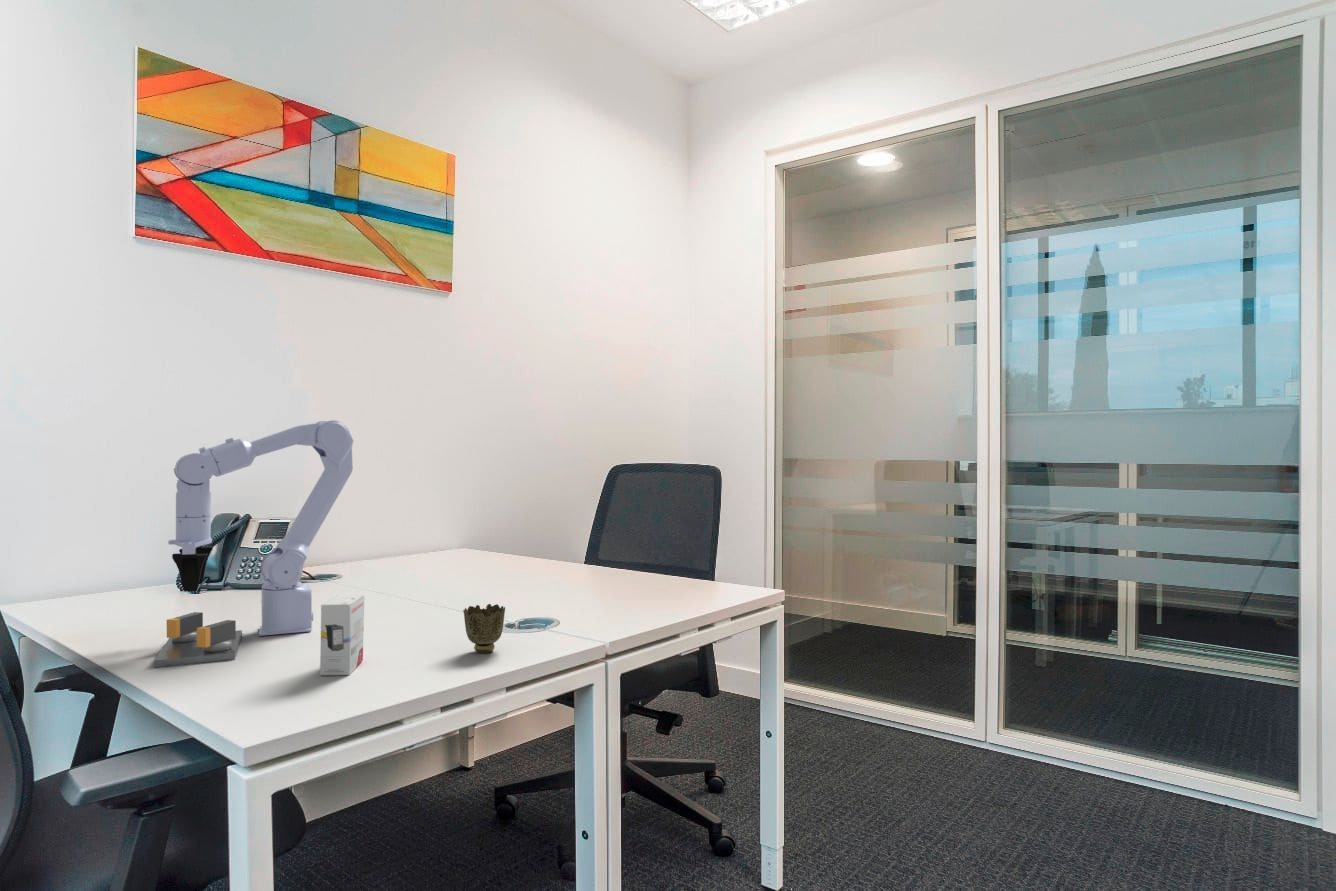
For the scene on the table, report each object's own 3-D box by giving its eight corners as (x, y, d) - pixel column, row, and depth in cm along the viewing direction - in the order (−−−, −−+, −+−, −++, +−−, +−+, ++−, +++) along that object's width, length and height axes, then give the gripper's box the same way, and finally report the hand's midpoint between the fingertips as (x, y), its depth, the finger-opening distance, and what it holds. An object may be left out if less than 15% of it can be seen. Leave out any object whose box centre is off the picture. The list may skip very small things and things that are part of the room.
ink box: (335, 662, 137) (335, 594, 137) (365, 661, 138) (365, 593, 138) (318, 677, 129) (318, 604, 129) (350, 676, 129) (350, 604, 129)
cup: (463, 658, 140) (463, 613, 140) (463, 647, 147) (463, 604, 147) (506, 655, 142) (506, 610, 142) (503, 645, 149) (503, 602, 149)
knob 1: (188, 634, 151) (188, 611, 151) (208, 635, 151) (208, 612, 151) (160, 643, 145) (160, 619, 145) (181, 644, 144) (181, 620, 144)
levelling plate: (241, 636, 155) (241, 621, 155) (234, 659, 139) (234, 642, 139) (170, 642, 150) (170, 627, 150) (154, 667, 134) (154, 649, 134)
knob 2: (221, 643, 145) (221, 619, 145) (241, 645, 144) (241, 620, 144) (191, 653, 138) (191, 627, 138) (211, 654, 137) (211, 629, 137)
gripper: (174, 513, 156) (174, 582, 156) (162, 520, 142) (162, 595, 143) (215, 512, 159) (215, 580, 159) (207, 519, 145) (207, 592, 145)
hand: (193, 587), depth 151 cm, fingers open, 7 cm apart
